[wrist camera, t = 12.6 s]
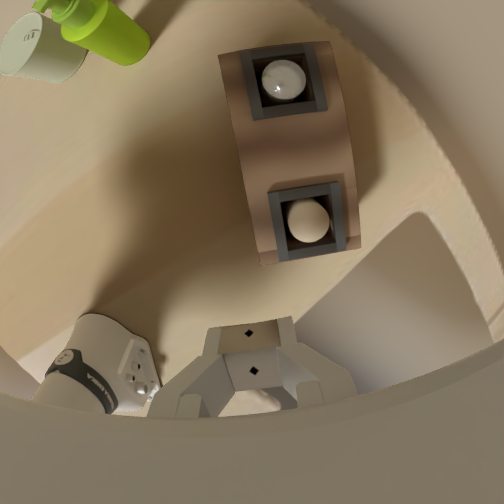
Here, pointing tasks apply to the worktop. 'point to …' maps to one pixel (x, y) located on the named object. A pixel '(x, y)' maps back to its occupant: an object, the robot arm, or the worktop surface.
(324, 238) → the walnut block
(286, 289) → the worktop surface
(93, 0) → the soap dispenser
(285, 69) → the steel peg
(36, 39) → the can
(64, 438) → the robot arm
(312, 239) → the maple peg
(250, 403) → the worktop surface
